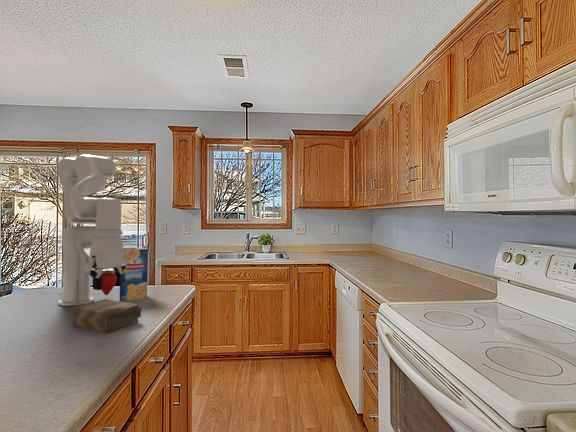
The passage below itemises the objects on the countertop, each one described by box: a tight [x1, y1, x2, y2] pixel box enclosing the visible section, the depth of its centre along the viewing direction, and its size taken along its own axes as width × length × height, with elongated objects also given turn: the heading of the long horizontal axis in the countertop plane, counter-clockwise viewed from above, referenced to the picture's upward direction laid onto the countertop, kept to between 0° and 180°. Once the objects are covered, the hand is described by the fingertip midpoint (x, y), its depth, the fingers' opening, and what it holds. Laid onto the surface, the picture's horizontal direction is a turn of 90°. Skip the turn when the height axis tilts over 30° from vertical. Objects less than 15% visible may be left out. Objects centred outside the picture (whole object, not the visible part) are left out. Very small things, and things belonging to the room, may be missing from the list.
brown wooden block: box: [72, 298, 142, 334], centre depth 110 cm, size 17×12×6 cm
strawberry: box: [100, 269, 117, 296], centre depth 110 cm, size 6×8×10 cm
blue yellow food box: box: [118, 247, 149, 302], centre depth 144 cm, size 7×11×22 cm, turn 117°
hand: (107, 287), depth 110 cm, fingers closed on strawberry, 6 cm apart
